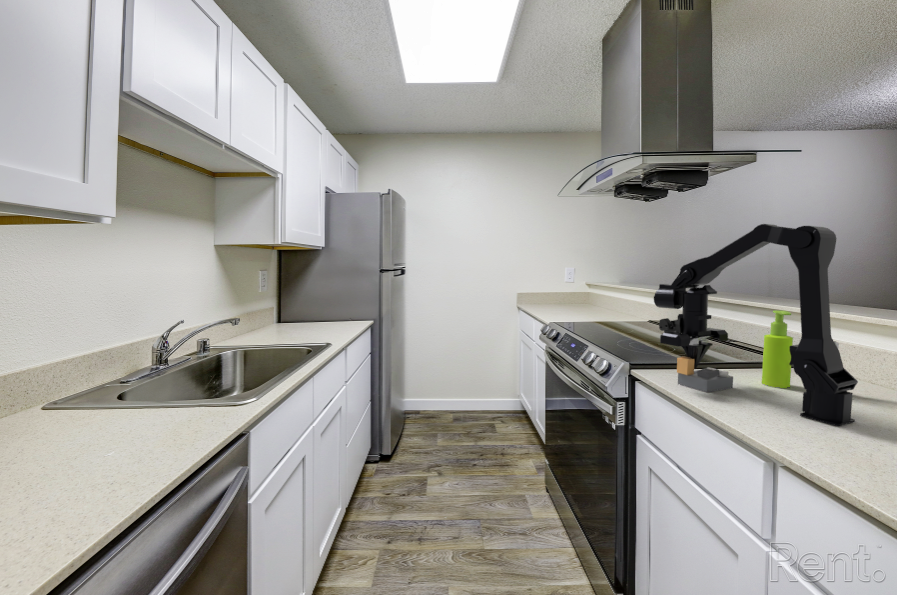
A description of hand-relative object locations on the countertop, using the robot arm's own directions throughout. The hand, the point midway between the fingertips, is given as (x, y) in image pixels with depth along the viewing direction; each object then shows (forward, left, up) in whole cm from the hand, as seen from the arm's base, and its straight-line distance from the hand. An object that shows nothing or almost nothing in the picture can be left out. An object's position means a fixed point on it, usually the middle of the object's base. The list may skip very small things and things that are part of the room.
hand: (693, 368), depth 109 cm
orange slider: (0, +3, -1) cm, 3 cm away
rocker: (-5, +1, 0) cm, 5 cm away
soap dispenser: (-9, -19, -4) cm, 22 cm away
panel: (-2, -1, -4) cm, 5 cm away
